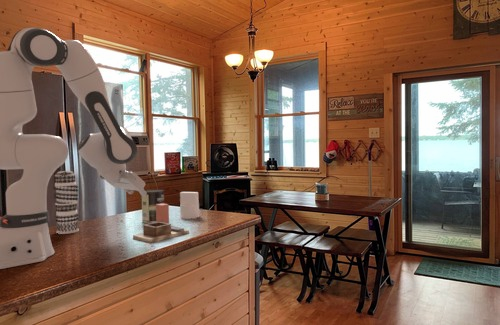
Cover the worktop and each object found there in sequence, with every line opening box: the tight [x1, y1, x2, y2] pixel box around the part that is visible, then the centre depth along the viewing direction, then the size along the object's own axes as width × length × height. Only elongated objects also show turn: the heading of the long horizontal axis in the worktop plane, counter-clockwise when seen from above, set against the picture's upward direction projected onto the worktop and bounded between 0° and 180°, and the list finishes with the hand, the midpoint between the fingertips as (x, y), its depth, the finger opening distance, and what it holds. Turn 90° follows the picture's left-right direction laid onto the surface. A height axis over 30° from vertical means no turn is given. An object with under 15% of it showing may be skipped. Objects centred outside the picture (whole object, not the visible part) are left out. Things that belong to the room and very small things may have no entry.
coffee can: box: [141, 189, 165, 224], centre depth 173 cm, size 10×10×14 cm
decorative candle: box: [52, 170, 80, 235], centre depth 154 cm, size 9×9×25 cm
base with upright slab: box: [179, 191, 200, 220], centre depth 181 cm, size 9×9×12 cm
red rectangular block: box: [156, 203, 170, 224], centre depth 157 cm, size 4×4×10 cm
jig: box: [132, 222, 190, 244], centre depth 143 cm, size 18×11×5 cm, turn 141°
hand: (138, 193), depth 148 cm, fingers open, 8 cm apart
